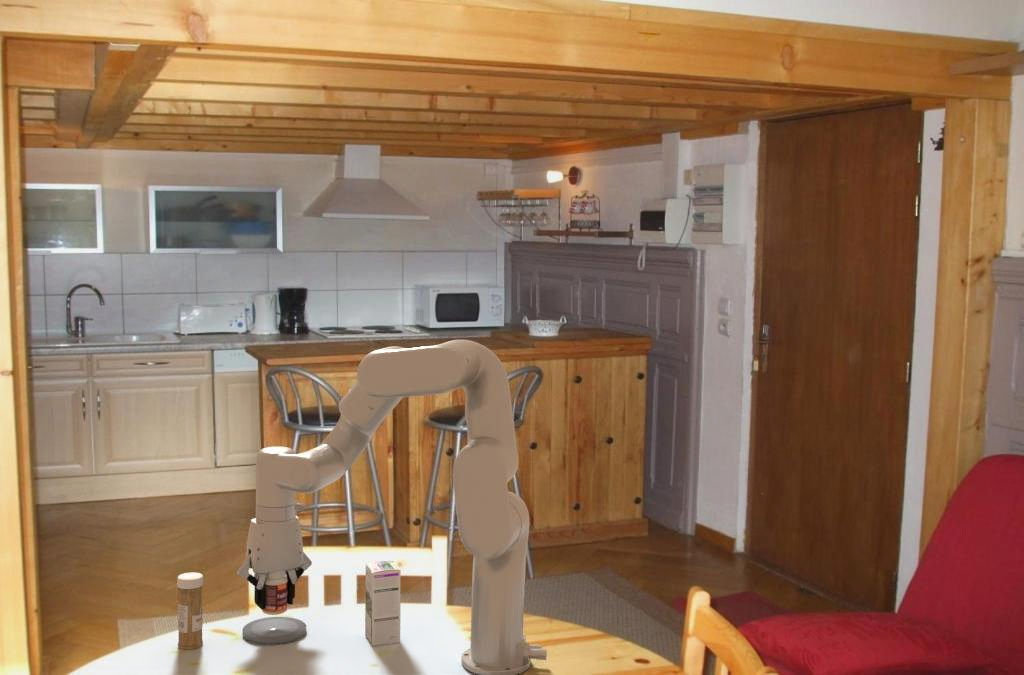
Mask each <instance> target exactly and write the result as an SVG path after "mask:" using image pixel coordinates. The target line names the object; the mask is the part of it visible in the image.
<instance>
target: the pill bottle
mask: <svg viewBox="0 0 1024 675" xmlns="http://www.w3.org/2000/svg"><path fill="white" fill-rule="evenodd" d="M287 586H288V580H287V577H286V571H276V572H272V573H267V574H266V577H265V581H264V588H265V589H266V608H265V609H261V611H262V613H263V614H266V615H270V616H274V615H275V616H276V615H281V614H282V615H283V613H286V612H287V610H288V603H287Z"/></svg>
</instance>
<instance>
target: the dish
mask: <svg viewBox="0 0 1024 675" xmlns="http://www.w3.org/2000/svg"><path fill="white" fill-rule="evenodd" d="M306 634H307V625H306V623H305V622H304V621H303V620H300V619H298V618H293V617H291V616H290V617H288V616H271V617H270V616H269V617H262V618H259V619H255V620H252V621H250V622H248V623H246V624H245V625H244V626H243V627H242V638H243V639H244V640H245V641H247V642H249V643H251V644H255V645H260V646H280V645H287V644H291V643H293V642H296V641H299V640H301V639H303V638H304V637H305V635H306Z"/></svg>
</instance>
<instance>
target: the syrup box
mask: <svg viewBox="0 0 1024 675" xmlns="http://www.w3.org/2000/svg"><path fill="white" fill-rule="evenodd" d="M364 602H365V605H364V607H365V608H364V609H365V610H364V611H365V612H364V613H365V615H364V616H365V617H364V619H365V620H364V622H365V629H364V635H365V638H366V639H367V640H368V642H369V643H370V644H371V646H372V647H374V646H375V647H376V646H377V647H378V646H386V645H387V646H388V645H395V644H400V643H401V569H400V568H399V566H398V565H397V564H396V563H395V562H394V561H392V560H386V561H385V560H383V561H382V560H381V561H375V562H370V563H365V601H364Z"/></svg>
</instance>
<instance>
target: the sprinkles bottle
mask: <svg viewBox="0 0 1024 675" xmlns="http://www.w3.org/2000/svg"><path fill="white" fill-rule="evenodd" d="M203 585H204V576H203V574H202V573H200V572H193V571H192V572H191V571H190V572H185V573H181V574H179V575H177V579H176V586H177V589H178V591H177V593H178V597H177V598H178V599H177V600H178V601H177V630H178V642H177V647H178V648H179V649H181V650H185V651H189V650H196V649H200V648H201V646H203V644H204V640H203Z"/></svg>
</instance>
